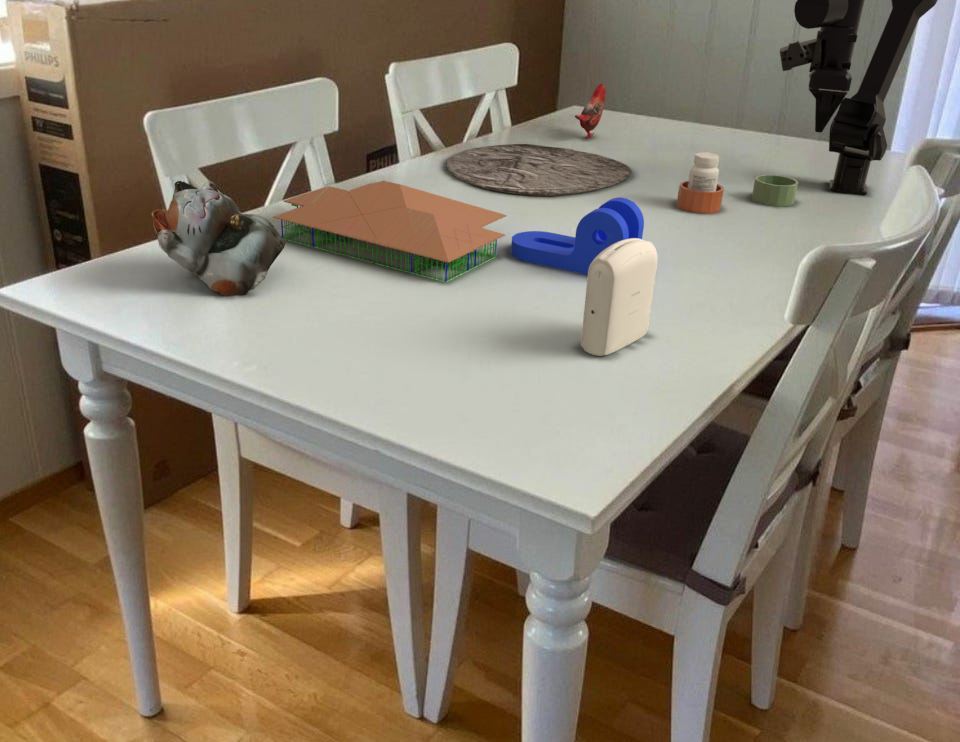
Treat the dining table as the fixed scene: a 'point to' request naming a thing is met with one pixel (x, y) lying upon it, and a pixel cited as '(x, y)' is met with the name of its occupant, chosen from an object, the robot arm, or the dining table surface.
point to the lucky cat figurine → (217, 239)
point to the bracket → (581, 237)
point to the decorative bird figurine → (593, 110)
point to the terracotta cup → (699, 199)
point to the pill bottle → (704, 172)
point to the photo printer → (619, 296)
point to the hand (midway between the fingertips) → (818, 126)
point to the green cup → (774, 190)
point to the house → (396, 223)
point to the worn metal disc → (536, 169)
